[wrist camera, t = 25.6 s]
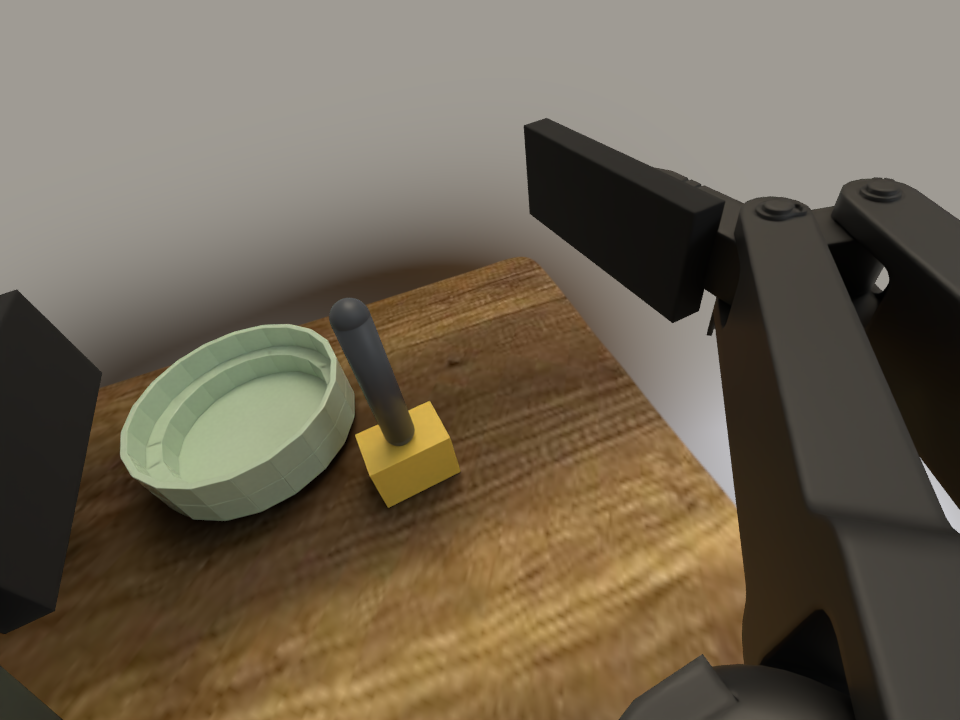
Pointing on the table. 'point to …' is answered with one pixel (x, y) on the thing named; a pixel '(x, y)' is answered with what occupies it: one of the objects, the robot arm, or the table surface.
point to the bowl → (240, 422)
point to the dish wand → (391, 414)
